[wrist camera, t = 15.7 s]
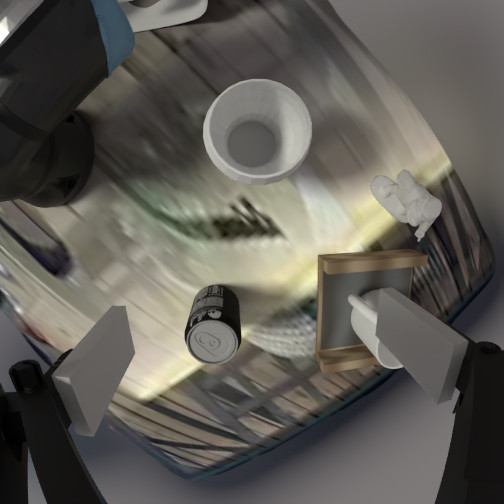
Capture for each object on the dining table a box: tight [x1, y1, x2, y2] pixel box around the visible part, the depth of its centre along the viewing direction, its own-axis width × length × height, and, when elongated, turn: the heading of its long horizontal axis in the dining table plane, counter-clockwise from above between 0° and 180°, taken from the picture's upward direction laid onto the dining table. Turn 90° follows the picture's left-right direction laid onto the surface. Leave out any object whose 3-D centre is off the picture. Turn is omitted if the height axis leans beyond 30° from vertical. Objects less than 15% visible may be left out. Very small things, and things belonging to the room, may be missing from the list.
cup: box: [203, 79, 312, 185], centre depth 33 cm, size 11×11×15 cm
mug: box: [348, 290, 404, 369], centre depth 40 cm, size 12×8×10 cm
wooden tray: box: [315, 249, 428, 373], centre depth 44 cm, size 16×17×5 cm
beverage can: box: [185, 285, 241, 365], centre depth 39 cm, size 7×7×12 cm
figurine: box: [370, 170, 442, 242], centre depth 38 cm, size 9×7×12 cm
